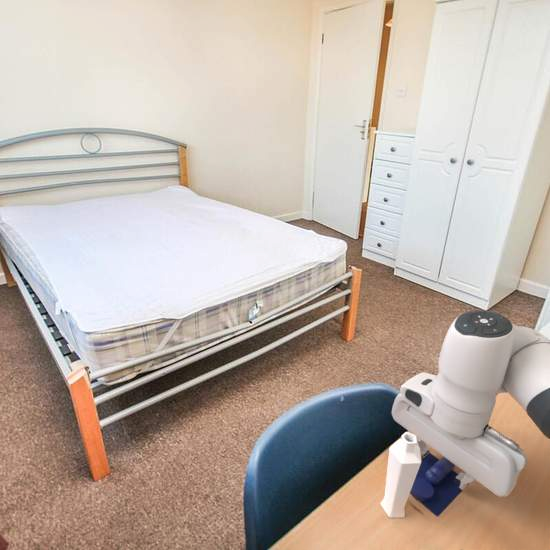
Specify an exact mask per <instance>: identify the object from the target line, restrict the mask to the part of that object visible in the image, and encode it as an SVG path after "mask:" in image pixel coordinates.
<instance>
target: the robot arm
mask: <svg viewBox="0 0 550 550" xmlns="http://www.w3.org/2000/svg"><path fill="white" fill-rule="evenodd" d="M437 366H438V372H437V374H432V373H429V372H424V371H423V372H422V371H421V372H420V373H417V374H416V375H413V376H412V377H411V378H409V379H407V380H406V381H405V382H404V383H403V384H401V386H400V389H399V393H398V394H397V395H396V396H395V398H394V402H393V403H392V408H391V416H392V419H393V420H394V422H396V423H397V424H399V426H401V427H403V428H404V429H405V430H407V432H409V433H411V434H413V435H415V436H416V439H417V443H416V444H415V445H416V446H418V447H420V454H421V459H423V460H425V458H427V457H428V455H429V452H430V453H431V449H433V450H434V451H435V452H437V453H438V454H440V455H441V456H442V457H443V456H444V457H445V458H446V459H448V460H449V461H450V462H452V463H453V464H455V467H457V468H459V470H461V471H460V472H459V473H458V474H459V475H457V476H456V478H455V482H454V484H455V485H456V486H458V487H459V488H460V489H461V490H462V491H464V490H465V489H466V487H468V485H469V484H470V483H473V482H474V481H476V482H478V483H479V484H480V485H482V486H483V487H484V488H485V489H488V490H489V491H490V492H491V493H492V494H494V495H495V496H497V497H499V498H504V497H505V498H506V497H508V496H510V494H511V493H512V492H513V490H514V489H515V487H516V486H517V483H518V480H519V476H520V472H522V471H523V470H525V468H526V465H527V463H528V456H527V455H526V452H524V450H523V449H522V448H521V447H520V444H518V443H517V442H516V440H513V439H512V438H509V437H507V436H505V435H504V434H503V433H501V432H500V431H499V430H497V429H495V428H494V427H492V426H490V425H489V424H490V421H491V418H492V416H493V412H494V409H495V407H496V403H497V402H496V401H497V396H498V395H499V394H503V393H505V394H507V393H508V395H509V396H510V397H511V398H512V399H513V400H514V401H515V402H517V404H518V405H519V406H520V407H521V409H523V410H524V411H525V413H526V414H527V416H528V418H530V420H531V421H532V422H533V423H534V425H535V426H536V427H537V428H538V429H539V430H540V432H541V433H542V434H543V436H544V437H545V438H547V439H549V440H550V339H549V337H547V336H545V335H543V334H542V333H541V332H539V331H538V330H536V329H534V328H532V327H530V326H527V325H516V324H514V323H513V322H512V321H511V320H510V319H509V318H507V316H505V315H503V314H501V313H499V312H495V311H491V310H483V309H476V310H475V309H474V310H469V311H468V310H467V311H465V312H462V313H460V314H459V315H457V317H456V318H455V319H454V320H453V321H452V323H451V324H450V325H449V327H448V329H447V331H446V334H445V337H444V339H443V342H442V345H441V348H440V353H439V358H438V361H437ZM468 483H469V484H468ZM467 484H468V485H467Z"/></svg>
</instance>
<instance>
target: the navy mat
mask: <svg viewBox="0 0 550 550" xmlns="http://www.w3.org/2000/svg"><path fill="white" fill-rule="evenodd" d="M439 460H440V458H438V457H436V456H435V455H433V453H432V452H431V451H430V452H429V455H428V457H427V458H425V460H423V459H421V465H420V467H419V470H418V472H417V475H416V478H423V479H425V474H426V472H427V471H428V470H429V469H430V468H431V467H432V466H433V465H434V464H435V463H436V462H438V461H439ZM457 475H459V473H458V472H457V471H455V470H454V469H453V470H452V471H451V472H450V473H449V474H448V475H447V476H446V477H445V478H444V479H443V480H442V481H441V482H440V483H439V484H438V485H436V486H433V485H432V486H433V488H434V494H433V498H432V500H431V501H429V502H421V501H419V503H420V504H421V505H423V506H424V507H425V508H426V509H428V510H429V511H430V512H431V513H432V514H434V516H435V517H437V518H438V517H439V516H440V515H441V514H442V513H443V512H444V511H445V510H446V509H447V508H448V507H449V505H451V504H452V502H453V501H454V500H455V499H456V498H457V497H458V496H459V495H460V494H461V493H462V492H463V490H461V489H460V488H459V487H458V486H456V485H455V484H454V482H455V478H456V476H457ZM425 480H426V479H425ZM469 484H470V483H468V484H467V486H468V485H469ZM409 495H412V494H411V492H410V494H409Z"/></svg>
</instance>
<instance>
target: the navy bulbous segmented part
mask: <svg viewBox="0 0 550 550" xmlns="http://www.w3.org/2000/svg"><path fill="white" fill-rule="evenodd" d="M455 467H456V465H455V464H453V463H452V462H450V461H449V460H448V459H446V458H445V457H444V456H442V457H440V458H439V461H438V462H436V463H435V464H434V465H433V466H432V467H431V468H430V469H429V470H428V471H427V472H426V474H425V479H426V480H425V479H423V478H415V480H414V483H413V486H412V488H411V491H410V492H411V494H410V495H412V497H413V498H414V500H416V501H418V502H420V501H421V502H429V501H431V500H432V498H433V494H434V488H433V486H436V485H438V484H439V483H440V482H441V481H442V480H443V479H444V478H445V477H446V476H447V475H448V474H449V473H450V472H451V471H452V470H454V469H455ZM432 485H433V486H432ZM421 502H420V503H421Z"/></svg>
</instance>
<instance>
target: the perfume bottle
mask: <svg viewBox="0 0 550 550" xmlns="http://www.w3.org/2000/svg"><path fill="white" fill-rule="evenodd" d="M416 443H417V439H416V436H415V435H414V434H412V433H411V432H409V431H405V432H404V433H403V434H401V437H400V438H399V439H398V440H396V441H395V442H394V443H393V444H391V445H390V446H389V449H388V459H387V460H388V461H387V468H386V476H385V477H386V478H385V487H384V488H385V489H384V497H383V499H382V500H381V501H380V506H381V508H382V509H383V510H384V512H385V513H386V516H388V518H391V519H393V518H394V519H395V518H405V517H406V515H405V514H406V510H405V507H406V504H407V501H408V499H409V497H410V495H411V494H410V491H411V488H412V486H413V483H414V480H415V478H416V475H417V472H418V470H419V467H420V465H421V454H420V447H418V446H416Z"/></svg>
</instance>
